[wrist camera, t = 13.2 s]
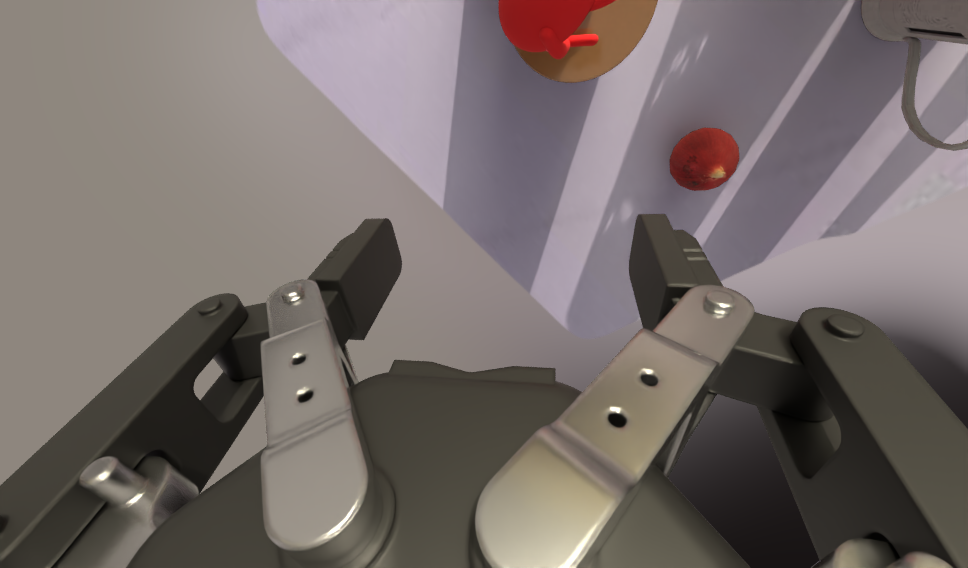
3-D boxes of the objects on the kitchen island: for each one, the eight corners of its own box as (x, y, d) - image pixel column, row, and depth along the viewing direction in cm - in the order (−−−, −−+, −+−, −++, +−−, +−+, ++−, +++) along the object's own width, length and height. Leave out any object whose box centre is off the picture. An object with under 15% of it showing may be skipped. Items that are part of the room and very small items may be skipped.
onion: (680, 184, 42) (701, 218, 36) (651, 146, 40) (669, 175, 34) (733, 148, 39) (767, 178, 33) (705, 105, 37) (736, 129, 31)
